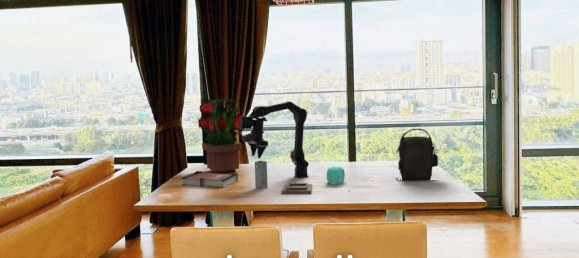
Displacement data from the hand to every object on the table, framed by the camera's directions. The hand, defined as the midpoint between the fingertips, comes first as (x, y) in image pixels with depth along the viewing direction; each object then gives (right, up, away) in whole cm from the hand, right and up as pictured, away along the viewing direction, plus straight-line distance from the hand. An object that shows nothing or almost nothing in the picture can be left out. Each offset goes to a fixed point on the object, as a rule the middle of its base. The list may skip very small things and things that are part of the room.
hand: (256, 157), depth 263 cm
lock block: (+4, -16, -12) cm, 20 cm away
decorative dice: (+44, -14, -5) cm, 46 cm away
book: (-26, -15, +3) cm, 30 cm away
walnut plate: (+23, -16, -20) cm, 34 cm away
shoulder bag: (+89, -12, -2) cm, 89 cm away
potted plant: (-23, -11, +35) cm, 44 cm away
